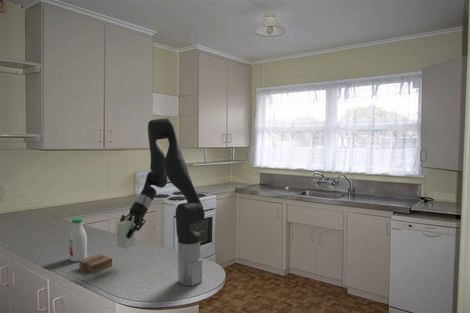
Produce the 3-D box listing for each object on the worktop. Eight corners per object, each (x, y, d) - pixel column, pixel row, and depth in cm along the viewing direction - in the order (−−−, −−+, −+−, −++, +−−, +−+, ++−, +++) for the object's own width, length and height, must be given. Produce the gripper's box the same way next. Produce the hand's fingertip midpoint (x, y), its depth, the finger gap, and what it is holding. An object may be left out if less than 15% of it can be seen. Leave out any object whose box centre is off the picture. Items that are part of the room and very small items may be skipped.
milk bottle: (89, 256, 176) (88, 216, 174) (83, 262, 168) (82, 220, 166) (74, 256, 176) (72, 216, 174) (67, 262, 168) (65, 221, 166)
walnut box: (112, 266, 163) (111, 258, 163) (93, 274, 155) (92, 265, 155) (98, 262, 169) (98, 254, 168) (79, 269, 160) (79, 260, 160)
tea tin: (134, 244, 164) (134, 221, 163) (126, 248, 159) (125, 223, 159) (126, 243, 167) (125, 219, 166) (117, 246, 162) (116, 222, 161)
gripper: (126, 200, 172) (107, 230, 162) (148, 202, 165) (129, 234, 155) (134, 208, 177) (116, 238, 167) (156, 211, 170) (138, 243, 160)
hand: (123, 236), depth 161 cm, fingers closed on tea tin, 5 cm apart
